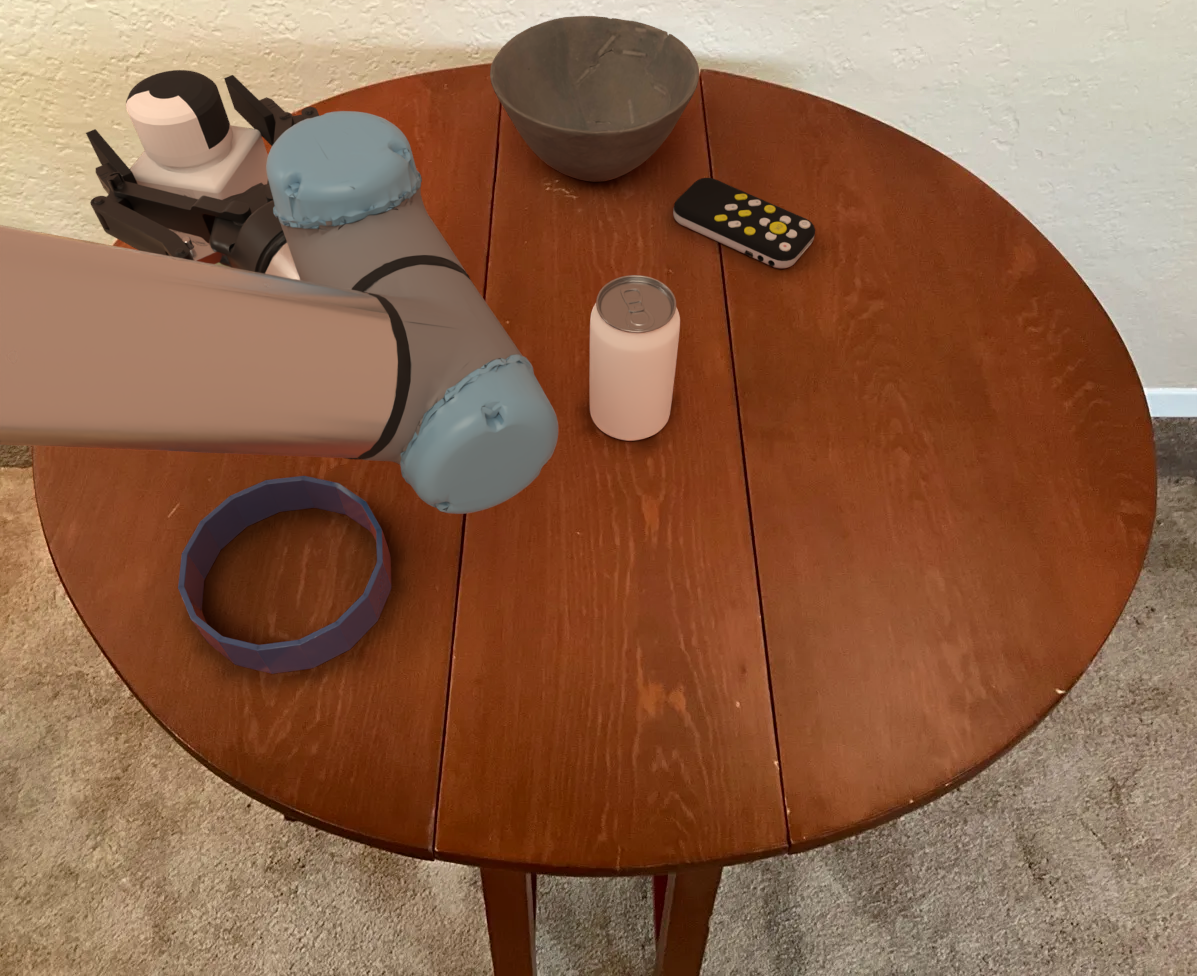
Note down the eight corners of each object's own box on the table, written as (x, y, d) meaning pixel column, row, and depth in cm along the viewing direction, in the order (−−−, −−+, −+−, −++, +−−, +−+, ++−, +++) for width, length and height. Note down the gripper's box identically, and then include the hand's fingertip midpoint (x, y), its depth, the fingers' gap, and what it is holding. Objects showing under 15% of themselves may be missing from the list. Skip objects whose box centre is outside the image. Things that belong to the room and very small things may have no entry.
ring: (189, 685, 64) (169, 662, 61) (204, 516, 71) (188, 488, 68) (394, 657, 65) (385, 633, 62) (388, 494, 72) (380, 466, 69)
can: (598, 449, 75) (600, 342, 65) (582, 387, 79) (581, 277, 69) (679, 437, 76) (692, 329, 66) (659, 376, 79) (669, 265, 70)
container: (202, 194, 83) (144, 51, 72) (286, 207, 82) (241, 65, 71) (159, 253, 79) (91, 111, 68) (248, 268, 78) (193, 127, 67)
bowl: (722, 142, 97) (734, 48, 89) (629, 250, 88) (633, 156, 80) (565, 85, 103) (563, -8, 95) (461, 181, 93) (449, 87, 85)
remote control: (701, 186, 93) (703, 169, 92) (818, 238, 89) (822, 221, 88) (666, 221, 90) (667, 203, 89) (786, 276, 86) (790, 259, 85)
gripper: (171, 390, 64) (44, 218, 74) (457, 243, 73) (310, 106, 82) (127, 308, 58) (-6, 133, 68) (445, 158, 66) (287, 21, 76)
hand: (167, 118), depth 75 cm, fingers closed on container, 10 cm apart
